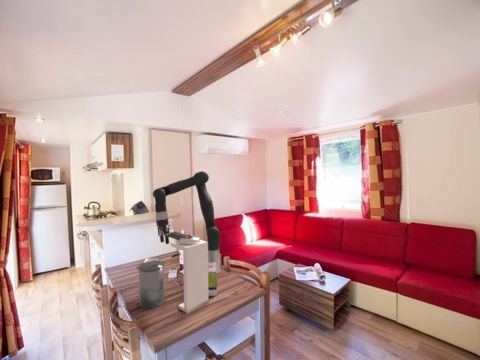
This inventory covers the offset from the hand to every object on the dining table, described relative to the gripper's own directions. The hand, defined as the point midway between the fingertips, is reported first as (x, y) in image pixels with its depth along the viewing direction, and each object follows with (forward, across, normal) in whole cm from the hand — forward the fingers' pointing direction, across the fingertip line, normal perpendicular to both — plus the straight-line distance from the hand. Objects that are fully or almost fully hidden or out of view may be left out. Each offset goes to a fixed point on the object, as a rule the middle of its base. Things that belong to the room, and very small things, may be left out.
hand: (164, 243), depth 149 cm
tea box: (+31, +23, +15) cm, 41 cm away
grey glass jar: (+28, +13, -16) cm, 35 cm away
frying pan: (+25, -41, +12) cm, 50 cm away
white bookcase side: (+30, +28, 0) cm, 42 cm away
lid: (-4, +26, +1) cm, 26 cm away
